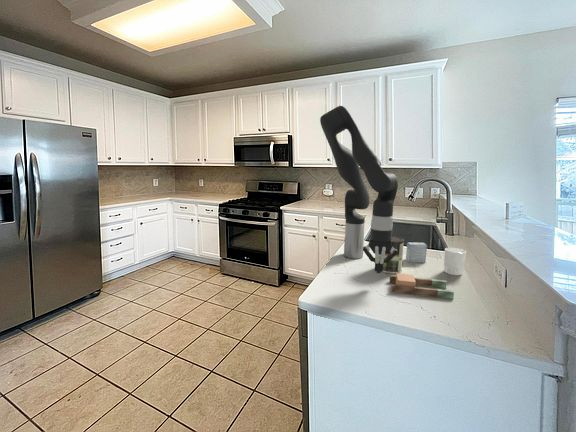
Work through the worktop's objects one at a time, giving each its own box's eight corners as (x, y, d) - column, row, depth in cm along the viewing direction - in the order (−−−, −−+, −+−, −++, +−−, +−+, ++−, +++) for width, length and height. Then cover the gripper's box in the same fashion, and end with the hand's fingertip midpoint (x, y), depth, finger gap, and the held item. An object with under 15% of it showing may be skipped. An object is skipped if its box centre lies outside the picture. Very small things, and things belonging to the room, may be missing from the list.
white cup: (438, 269, 126) (440, 247, 124) (455, 269, 127) (458, 247, 125) (450, 276, 118) (452, 253, 117) (468, 275, 119) (470, 252, 117)
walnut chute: (391, 292, 104) (392, 285, 103) (389, 281, 113) (389, 275, 113) (453, 299, 99) (454, 292, 98) (445, 286, 108) (446, 280, 108)
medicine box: (422, 259, 139) (423, 242, 138) (425, 262, 135) (427, 245, 133) (405, 259, 140) (406, 242, 138) (408, 262, 135) (409, 244, 134)
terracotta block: (397, 290, 105) (398, 280, 104) (395, 283, 111) (396, 273, 111) (415, 292, 103) (415, 282, 102) (411, 284, 110) (412, 274, 109)
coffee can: (388, 275, 120) (390, 242, 117) (372, 267, 129) (373, 236, 126) (407, 271, 124) (409, 240, 121) (390, 264, 133) (392, 234, 130)
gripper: (362, 228, 104) (360, 274, 107) (401, 231, 100) (398, 278, 103) (363, 224, 111) (360, 267, 114) (399, 226, 107) (396, 270, 110)
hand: (378, 272), depth 108 cm, fingers closed
